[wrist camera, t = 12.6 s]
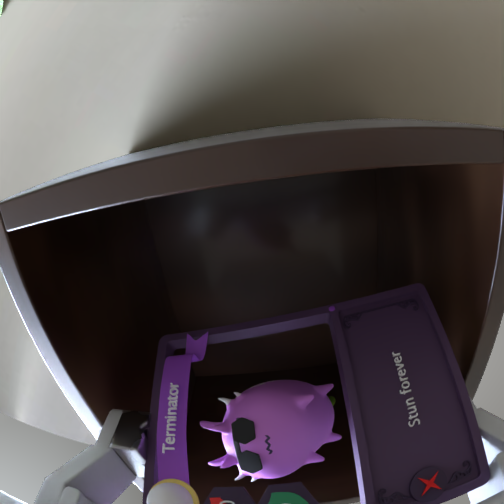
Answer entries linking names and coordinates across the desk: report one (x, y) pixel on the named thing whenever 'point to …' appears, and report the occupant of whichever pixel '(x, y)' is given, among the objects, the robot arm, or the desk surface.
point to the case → (255, 265)
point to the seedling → (0, 5)
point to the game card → (331, 409)
